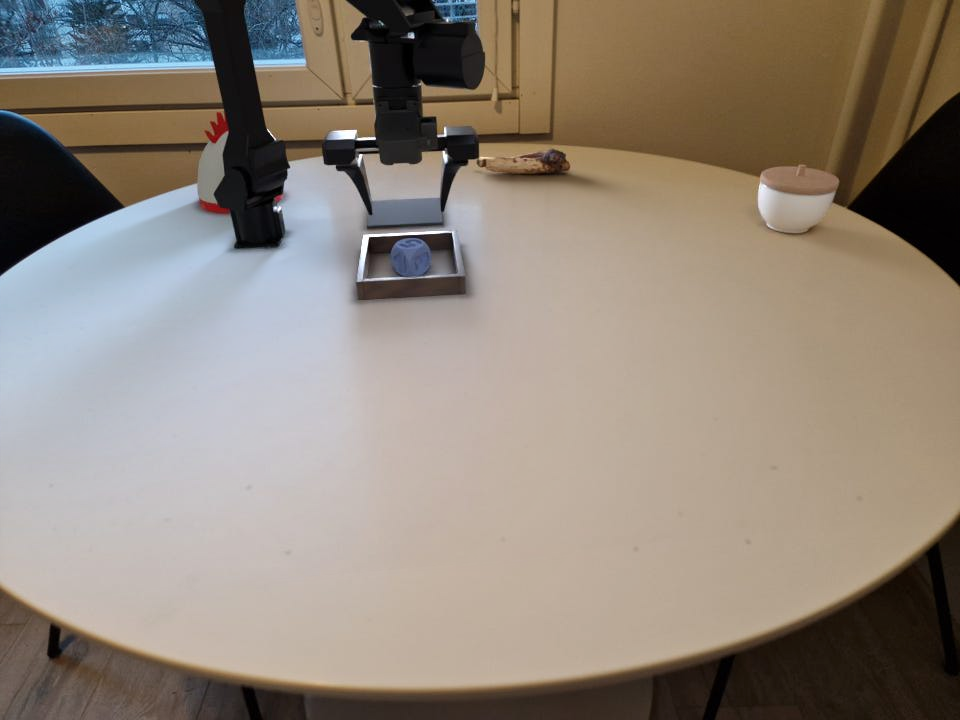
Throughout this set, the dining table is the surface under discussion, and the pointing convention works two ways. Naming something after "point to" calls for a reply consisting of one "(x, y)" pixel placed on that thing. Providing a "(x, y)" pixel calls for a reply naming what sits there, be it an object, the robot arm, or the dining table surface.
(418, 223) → the mat
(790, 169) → the trinket box
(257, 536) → the dining table surface
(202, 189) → the kitchen timer
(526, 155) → the overripe banana
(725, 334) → the dining table surface
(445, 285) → the rectangular frame
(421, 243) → the decorative dice
